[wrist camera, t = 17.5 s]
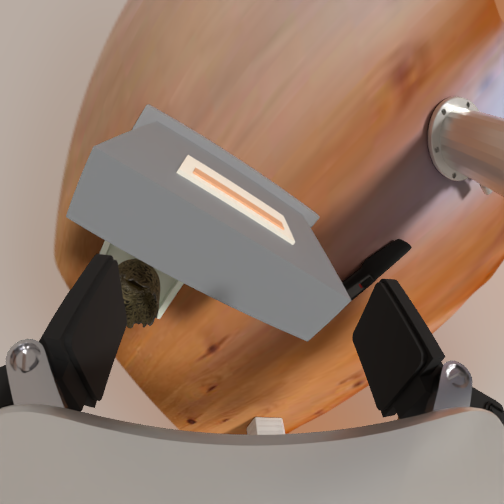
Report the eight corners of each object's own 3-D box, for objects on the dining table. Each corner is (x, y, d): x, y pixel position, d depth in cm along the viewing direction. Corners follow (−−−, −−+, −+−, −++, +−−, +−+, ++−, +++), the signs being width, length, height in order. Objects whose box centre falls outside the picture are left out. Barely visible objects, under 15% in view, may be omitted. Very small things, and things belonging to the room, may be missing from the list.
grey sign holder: (317, 214, 35) (375, 301, 21) (283, 254, 38) (316, 355, 23) (149, 104, 27) (75, 116, 12) (119, 156, 29) (39, 214, 15)
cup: (123, 289, 38) (107, 328, 31) (110, 244, 34) (88, 279, 27) (173, 288, 38) (164, 329, 32) (164, 241, 35) (150, 278, 28)
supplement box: (245, 427, 64) (249, 470, 53) (255, 416, 60) (260, 462, 49) (272, 429, 65) (278, 470, 54) (283, 417, 62) (291, 461, 51)
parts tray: (200, 252, 37) (198, 262, 35) (161, 309, 41) (159, 319, 39) (121, 208, 33) (116, 215, 31) (93, 273, 37) (88, 282, 35)
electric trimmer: (405, 244, 40) (416, 255, 37) (329, 306, 44) (335, 320, 41) (396, 228, 38) (407, 238, 35) (316, 294, 42) (322, 307, 40)
